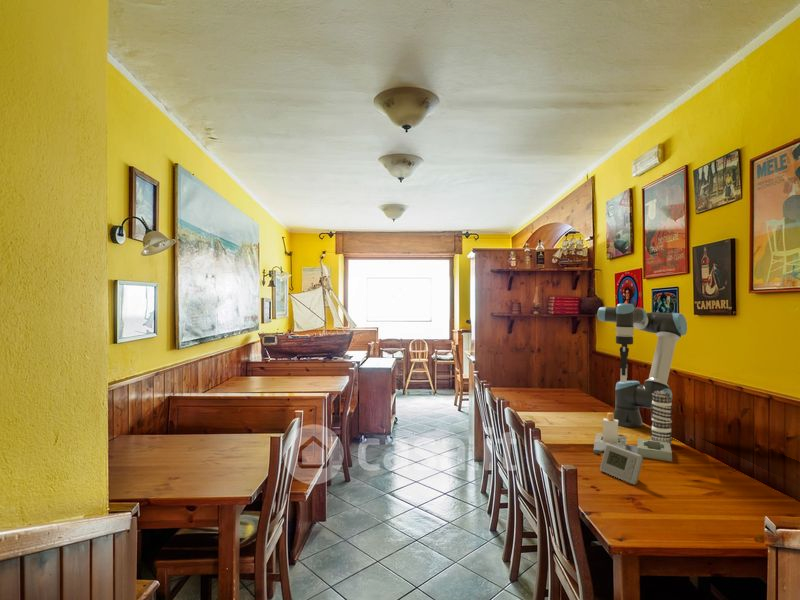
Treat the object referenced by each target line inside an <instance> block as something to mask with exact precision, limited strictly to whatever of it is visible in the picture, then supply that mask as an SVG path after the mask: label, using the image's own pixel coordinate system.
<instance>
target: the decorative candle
mask: <svg viewBox="0 0 800 600" xmlns="http://www.w3.org/2000/svg"><path fill="white" fill-rule="evenodd" d="M652 395H653V400H652V403H650V404H651V405H652V406H651V409H650V419H651V421H652V422H651V423H652V424H651V429H650V431H651V432H650V435H651V436H650V440H653V441H661V442H668V443H670V446H671V445H672V442H673V441H672V440H673V439H672V437H673V436H672V435H673V434H672V433H673V432H672V423H673V420H672V419H673V415H674V414H673V413H672V411H674V408H673V407H674V405H673V404H672V401H671V397H672V398H673V395H672V396H671V395H670V394H669V393H668V392H665V391H655V392H654V393H653V394H652Z"/></svg>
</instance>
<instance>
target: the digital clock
mask: <svg viewBox="0 0 800 600" xmlns="http://www.w3.org/2000/svg"><path fill="white" fill-rule="evenodd" d="M601 459H602V460H601V463H600V467H599V469H600V471H601V472H603V473H605V474H607V475H608V474H609V476H610V475H611V476H610V477H612V476H614V477H613V478H615V477H616V478H615V479H617V478H618V479H617V480H619V479H621V480H620V481H622V480H623V481H622V482H624V481H626V482H627V483H628V484H630V485H632V484H633V485H634V486H636V485H637V483H638V481H639V476H640V472H641V469H642V465H643V462H644V457H642V456H641V455H639V454H636V453H634V452H632V451H629V450H626V449H623V448H621V447H618V446H614V445H611V444H607V445H606V448H605V451H603V455H602V458H601ZM626 482H625V483H626ZM635 484H636V485H635Z"/></svg>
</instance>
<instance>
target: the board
mask: <svg viewBox="0 0 800 600" xmlns="http://www.w3.org/2000/svg"><path fill="white" fill-rule="evenodd" d="M626 450H629V451H632V452H634V453H636V454H638V445H633V444H627V443H626ZM592 451H593V452H592V453H593V454H597V455H598V454H599V455H602V453H603V451H600V450H594V448H593V449H592ZM644 458H645V459H648V458H647V457H644ZM650 459H651V460H654V459H653V458H650ZM657 460H659V461H661V460H660V459H657ZM664 461H666V462H668V461H667V460H664ZM670 462H673V460H672V461H670Z"/></svg>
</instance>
